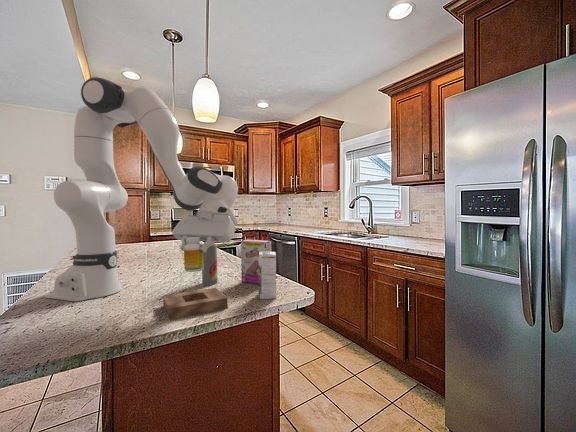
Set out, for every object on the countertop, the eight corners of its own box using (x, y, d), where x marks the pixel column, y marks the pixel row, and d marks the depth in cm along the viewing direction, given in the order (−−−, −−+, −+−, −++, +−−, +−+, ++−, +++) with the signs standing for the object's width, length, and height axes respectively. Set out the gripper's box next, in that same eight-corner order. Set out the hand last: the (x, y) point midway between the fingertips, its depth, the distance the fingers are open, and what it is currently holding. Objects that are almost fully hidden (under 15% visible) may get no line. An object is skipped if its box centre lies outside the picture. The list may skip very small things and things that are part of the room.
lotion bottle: (220, 282, 110) (219, 231, 109) (209, 286, 105) (208, 232, 104) (210, 280, 113) (209, 230, 112) (199, 283, 108) (197, 232, 107)
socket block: (169, 319, 75) (168, 308, 74) (163, 305, 85) (163, 296, 85) (227, 307, 83) (227, 297, 83) (215, 296, 93) (215, 287, 93)
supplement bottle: (202, 271, 81) (201, 238, 81) (183, 272, 80) (181, 239, 80) (204, 267, 87) (203, 236, 86) (186, 268, 86) (185, 236, 85)
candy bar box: (240, 282, 109) (240, 240, 109) (247, 279, 114) (247, 239, 113) (266, 285, 105) (265, 242, 104) (272, 282, 109) (271, 240, 109)
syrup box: (258, 293, 95) (258, 251, 95) (276, 293, 96) (275, 251, 95) (258, 299, 90) (257, 254, 89) (276, 298, 90) (276, 254, 90)
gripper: (180, 209, 93) (158, 242, 84) (234, 208, 86) (216, 245, 77) (190, 221, 97) (170, 254, 88) (242, 222, 90) (226, 258, 81)
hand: (192, 250), depth 83 cm, fingers closed on supplement bottle, 5 cm apart
